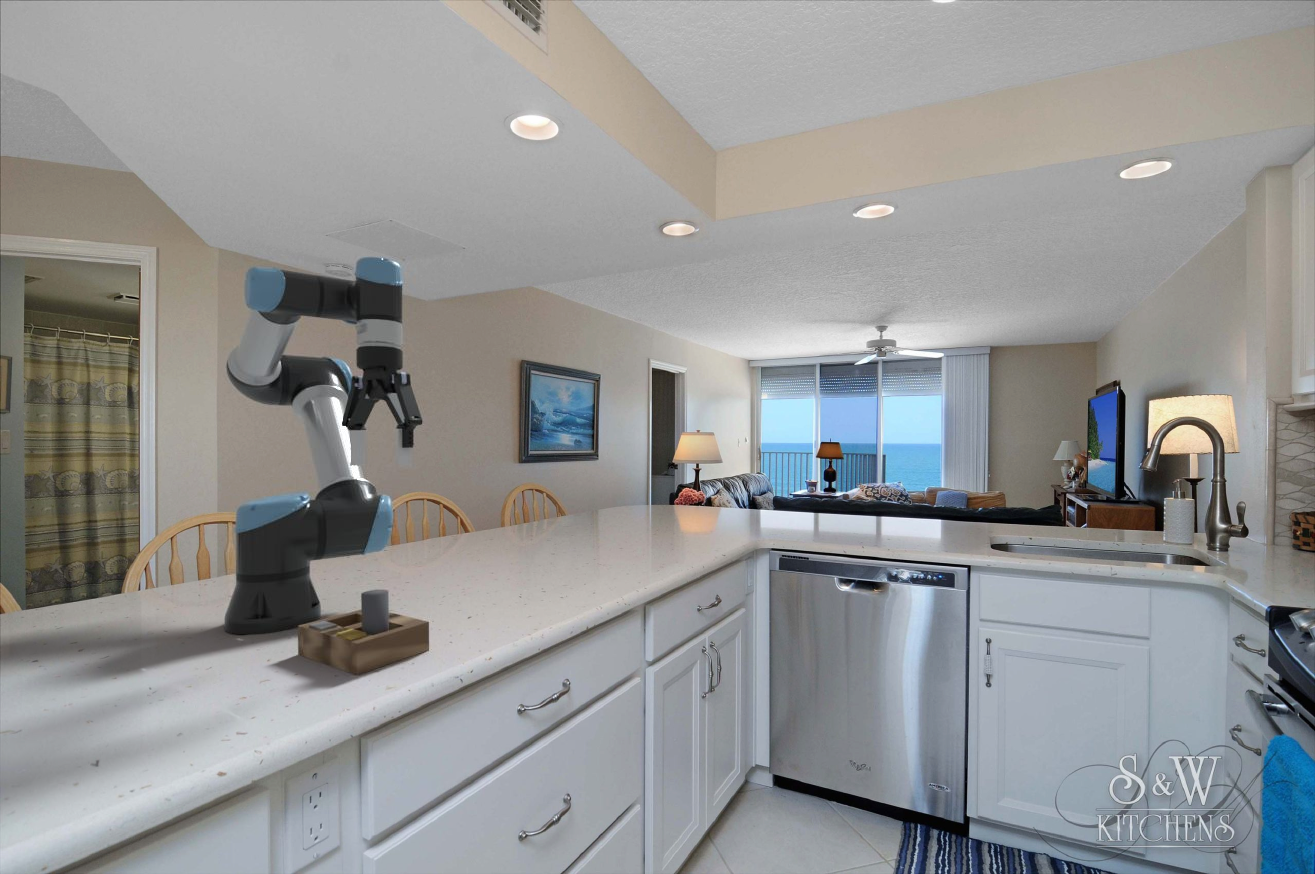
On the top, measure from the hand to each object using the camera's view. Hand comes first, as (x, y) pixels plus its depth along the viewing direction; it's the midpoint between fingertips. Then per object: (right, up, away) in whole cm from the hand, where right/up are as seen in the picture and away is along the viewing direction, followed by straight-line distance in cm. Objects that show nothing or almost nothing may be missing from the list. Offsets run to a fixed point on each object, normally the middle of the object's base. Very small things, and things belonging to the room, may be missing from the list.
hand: (380, 466), depth 109 cm
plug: (+6, -29, -15) cm, 33 cm away
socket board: (+3, -29, -12) cm, 31 cm away
